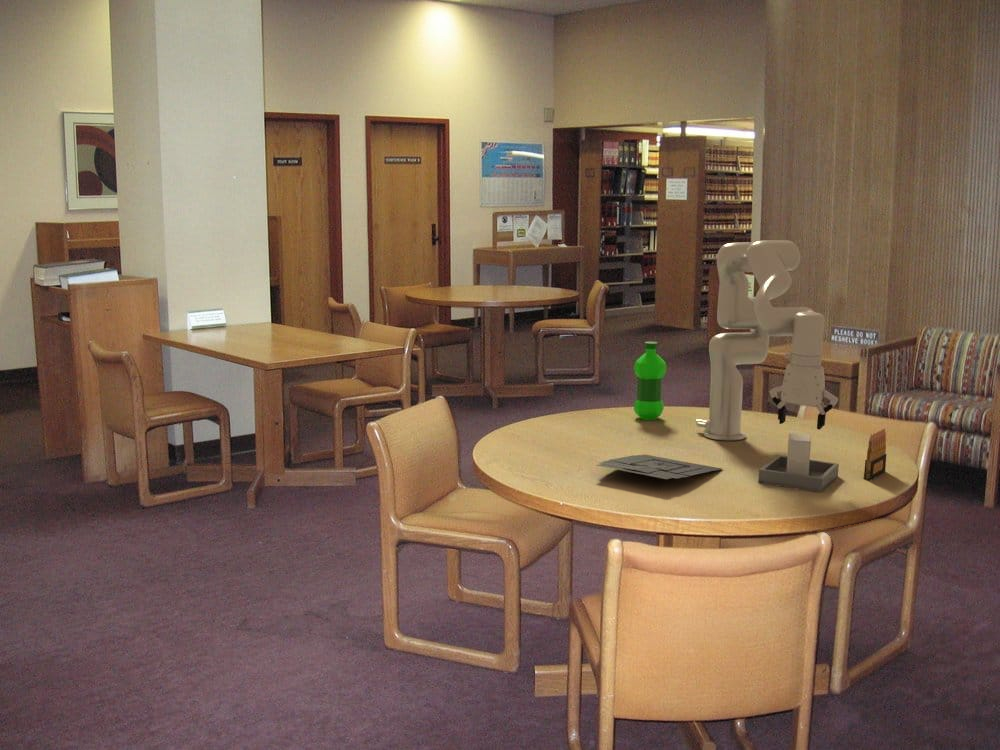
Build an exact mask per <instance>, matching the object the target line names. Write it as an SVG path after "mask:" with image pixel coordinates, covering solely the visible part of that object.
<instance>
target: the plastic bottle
mask: <svg viewBox="0 0 1000 750" xmlns="http://www.w3.org/2000/svg"><path fill="white" fill-rule="evenodd" d="M658 345H659V344H658V342H657V341H644V347H643V349H645V353H643V354H642V355H641V356H640V357H639V358H638V359H637V360H635V363H634V365H633V371H634V375H635V376H636V378H637V389H636V390H637V391H636V400H635V402H634V405H633V410H634V413H635V414H636V415H637V416H638V417H639V418H640V420H645V421H654V420H657V419H658V418H659V417H660V416H661V415H662V414H663V411H664V402H663V400H662V382H663V380H662V379H663V378H664V377H665V375H666V371H667V365H666V363H667V362H666V361H665V360H664V359H663V358H662V357H661V356H660V355H659V354H657V353H656V350H657V349H658Z"/></svg>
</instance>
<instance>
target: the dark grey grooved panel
mask: <svg viewBox="0 0 1000 750" xmlns="http://www.w3.org/2000/svg"><path fill="white" fill-rule="evenodd" d="M596 466H597V467H602V468H603V467H604V468H606V469H607V468H609V469H613V470H618V471H623V472H628V473H634V474H637V475H638V474H639V475H643V476H644V475H645V476H648V477H649V476H650V477H654V478H658V479H664V480H669V479H681V478H688V477H692V476H695V475H699V474H704V473H709V472H715V471H720V470H723V468H722V467H717V466H716V467H715V466H710V465H704V464H699V463H694V462H688V461H687V462H686V461H681V460H677V459H670V458H666V457H660V456H655V455H651V454H638V455H628V456H622V457H616V458H612V459H608V460H603V461H602V462H599V463H598V464H596Z"/></svg>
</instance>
